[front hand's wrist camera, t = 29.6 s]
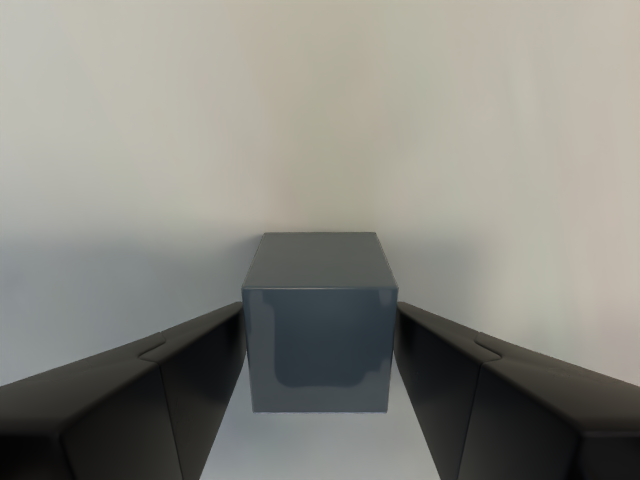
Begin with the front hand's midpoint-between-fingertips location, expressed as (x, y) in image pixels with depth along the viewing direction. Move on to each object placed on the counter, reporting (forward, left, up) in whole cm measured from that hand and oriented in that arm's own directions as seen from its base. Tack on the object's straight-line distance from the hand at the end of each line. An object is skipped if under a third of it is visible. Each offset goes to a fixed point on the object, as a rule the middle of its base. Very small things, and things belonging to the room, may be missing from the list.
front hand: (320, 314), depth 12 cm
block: (0, 0, -2) cm, 2 cm away
